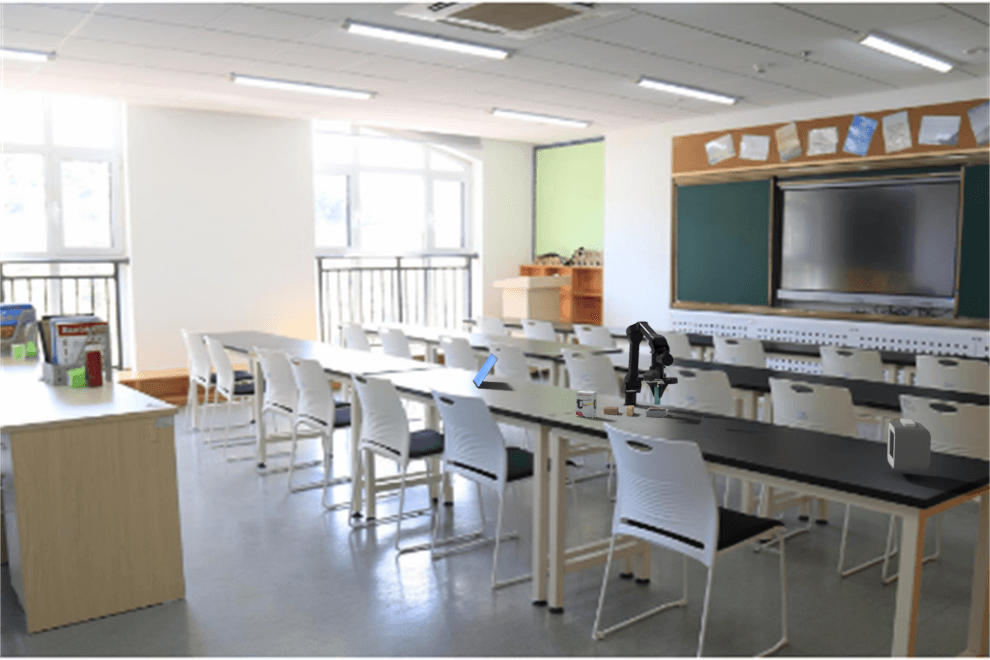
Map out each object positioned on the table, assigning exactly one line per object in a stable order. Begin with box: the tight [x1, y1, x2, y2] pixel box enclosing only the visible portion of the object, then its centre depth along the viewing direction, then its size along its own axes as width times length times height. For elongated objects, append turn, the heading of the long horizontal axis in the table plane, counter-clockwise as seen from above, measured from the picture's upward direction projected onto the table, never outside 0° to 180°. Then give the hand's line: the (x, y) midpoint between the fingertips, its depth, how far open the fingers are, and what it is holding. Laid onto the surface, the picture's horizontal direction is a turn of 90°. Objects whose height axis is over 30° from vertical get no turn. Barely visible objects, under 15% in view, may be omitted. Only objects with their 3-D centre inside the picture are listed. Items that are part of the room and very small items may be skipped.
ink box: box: [575, 390, 598, 418], centre depth 394 cm, size 9×5×12 cm, turn 62°
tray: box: [645, 407, 669, 419], centre depth 399 cm, size 9×9×2 cm
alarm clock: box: [886, 418, 932, 471], centre depth 294 cm, size 16×11×16 cm
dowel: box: [653, 386, 661, 406], centre depth 398 cm, size 3×3×8 cm
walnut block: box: [603, 406, 620, 416], centre depth 404 cm, size 6×6×3 cm
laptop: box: [472, 353, 499, 389], centre depth 493 cm, size 30×32×18 cm
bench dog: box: [625, 406, 635, 417], centre depth 402 cm, size 8×2×4 cm, turn 164°
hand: (657, 397), depth 398 cm, fingers closed on dowel, 3 cm apart
